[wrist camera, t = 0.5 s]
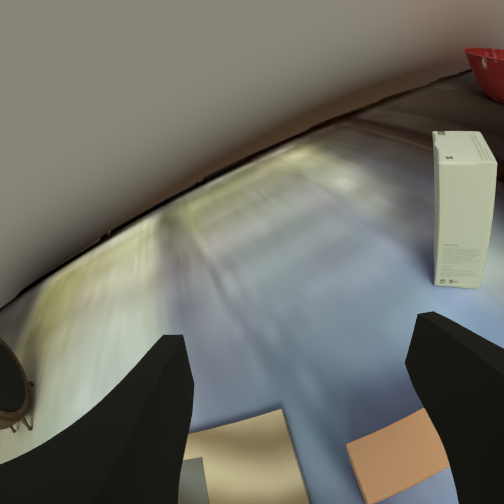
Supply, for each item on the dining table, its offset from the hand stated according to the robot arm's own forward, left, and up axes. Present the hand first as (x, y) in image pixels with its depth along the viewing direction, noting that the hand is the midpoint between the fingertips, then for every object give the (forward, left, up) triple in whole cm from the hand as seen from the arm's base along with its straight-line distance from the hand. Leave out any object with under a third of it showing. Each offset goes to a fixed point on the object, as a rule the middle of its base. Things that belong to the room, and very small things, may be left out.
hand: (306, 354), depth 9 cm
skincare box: (+15, -20, -19) cm, 31 cm away
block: (-2, -5, -19) cm, 20 cm away
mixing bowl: (+56, -87, -19) cm, 105 cm away
